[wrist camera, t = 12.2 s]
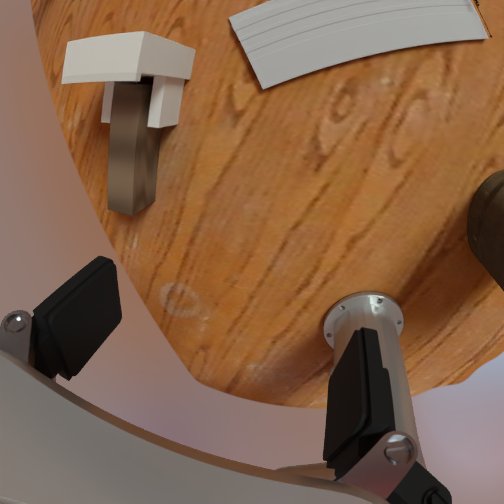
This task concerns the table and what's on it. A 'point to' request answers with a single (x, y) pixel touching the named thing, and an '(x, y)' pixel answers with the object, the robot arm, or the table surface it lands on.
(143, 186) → the rail
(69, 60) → the white forked bracket
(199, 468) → the robot arm
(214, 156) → the table surface
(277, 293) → the table surface
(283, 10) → the baseboard molding
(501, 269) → the wooden container
